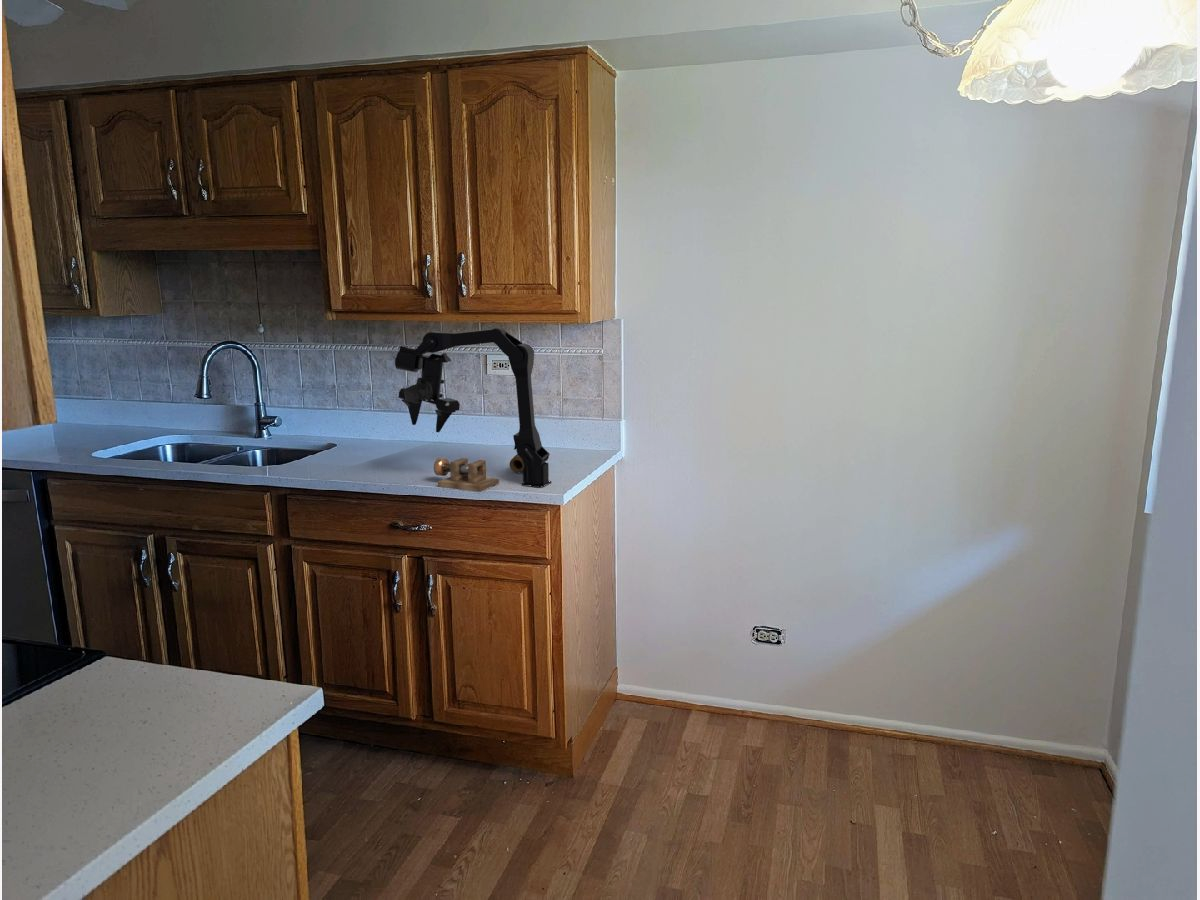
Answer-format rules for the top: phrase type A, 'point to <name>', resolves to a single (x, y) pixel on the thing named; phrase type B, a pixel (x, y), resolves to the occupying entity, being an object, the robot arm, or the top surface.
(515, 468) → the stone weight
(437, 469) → the shaft
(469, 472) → the bearing stand
